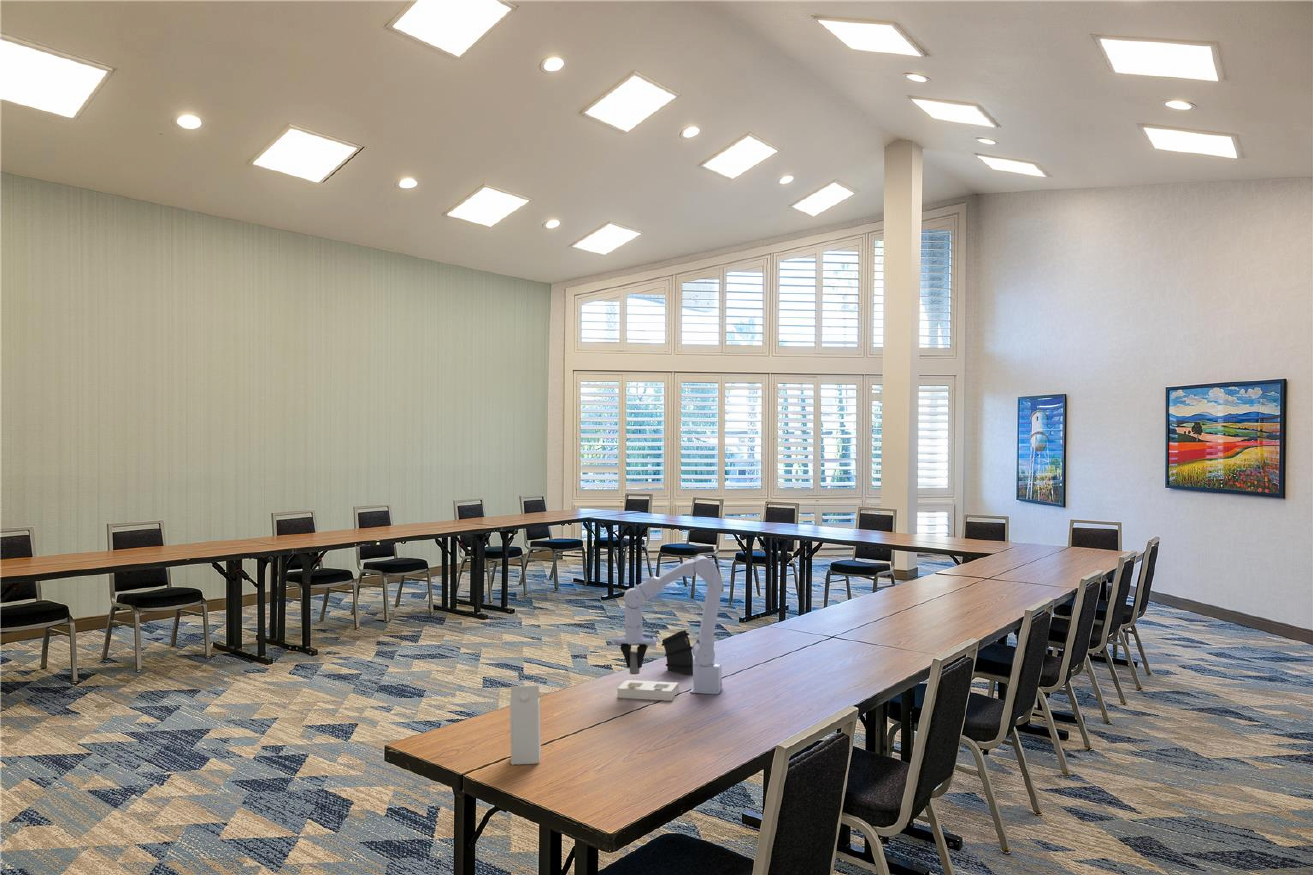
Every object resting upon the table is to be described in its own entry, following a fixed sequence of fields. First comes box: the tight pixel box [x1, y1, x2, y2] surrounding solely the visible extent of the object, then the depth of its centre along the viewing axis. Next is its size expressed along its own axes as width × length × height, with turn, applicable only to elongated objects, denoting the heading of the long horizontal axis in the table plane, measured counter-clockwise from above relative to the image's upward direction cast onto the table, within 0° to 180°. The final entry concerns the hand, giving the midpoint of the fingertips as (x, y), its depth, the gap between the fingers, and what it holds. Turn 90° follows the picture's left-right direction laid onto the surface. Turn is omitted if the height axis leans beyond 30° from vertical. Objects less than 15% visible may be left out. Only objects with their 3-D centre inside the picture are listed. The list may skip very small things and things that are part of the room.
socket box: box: [616, 679, 680, 701], centre depth 273 cm, size 18×10×3 cm, turn 75°
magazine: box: [661, 629, 694, 676], centre depth 301 cm, size 4×13×15 cm, turn 44°
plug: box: [629, 650, 640, 675], centre depth 274 cm, size 3×3×7 cm
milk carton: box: [509, 685, 542, 766], centre depth 217 cm, size 7×7×19 cm
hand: (634, 667), depth 274 cm, fingers closed on plug, 3 cm apart
